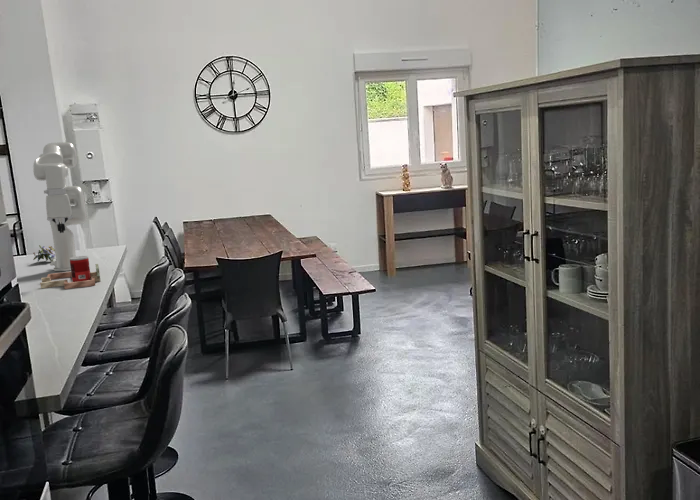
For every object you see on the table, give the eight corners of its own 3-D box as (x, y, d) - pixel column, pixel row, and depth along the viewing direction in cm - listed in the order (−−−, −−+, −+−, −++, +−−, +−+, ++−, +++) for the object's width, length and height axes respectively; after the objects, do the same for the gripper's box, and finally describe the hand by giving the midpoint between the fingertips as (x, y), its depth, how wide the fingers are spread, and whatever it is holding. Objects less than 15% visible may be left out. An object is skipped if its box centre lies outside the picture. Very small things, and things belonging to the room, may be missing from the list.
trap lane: (39, 292, 276) (38, 278, 275) (43, 279, 303) (41, 267, 302) (101, 284, 285) (99, 271, 284) (99, 273, 312) (97, 261, 311)
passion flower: (54, 271, 352) (56, 255, 345) (31, 270, 347) (33, 254, 340) (54, 257, 360) (56, 241, 353) (32, 256, 355) (34, 240, 348)
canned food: (94, 279, 298) (91, 255, 296) (82, 283, 291) (79, 259, 289) (81, 278, 301) (78, 255, 299) (68, 282, 293) (65, 258, 291)
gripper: (37, 194, 284) (43, 235, 287) (74, 191, 289) (79, 232, 293) (39, 192, 291) (44, 232, 294) (74, 190, 296) (79, 229, 300)
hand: (61, 232), depth 294 cm, fingers closed
